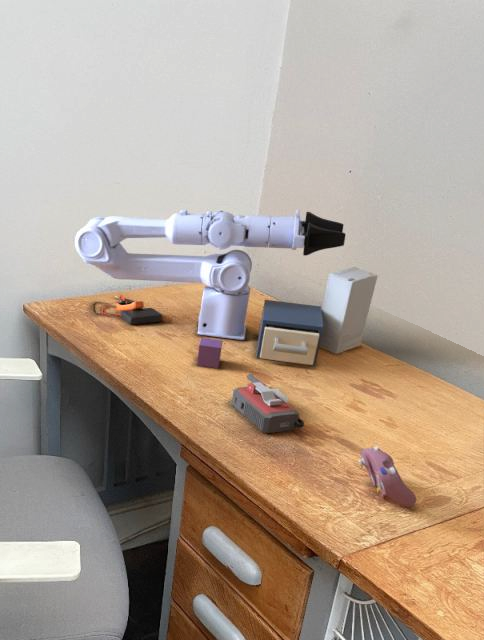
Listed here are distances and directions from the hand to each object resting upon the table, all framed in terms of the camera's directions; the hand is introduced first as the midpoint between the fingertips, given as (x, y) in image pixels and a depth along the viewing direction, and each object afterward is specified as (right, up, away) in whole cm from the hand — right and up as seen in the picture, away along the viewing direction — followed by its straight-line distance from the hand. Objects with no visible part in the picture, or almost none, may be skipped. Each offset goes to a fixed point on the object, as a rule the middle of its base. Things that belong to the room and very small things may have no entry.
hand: (343, 234), depth 146 cm
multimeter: (-42, -9, +21) cm, 48 cm away
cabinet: (-9, -20, +8) cm, 23 cm away
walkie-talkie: (-19, -35, -16) cm, 43 cm away
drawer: (-10, -22, +3) cm, 24 cm away
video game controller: (-5, -49, -36) cm, 61 cm away
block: (-25, -24, 0) cm, 35 cm away
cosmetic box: (+2, -19, +12) cm, 22 cm away
